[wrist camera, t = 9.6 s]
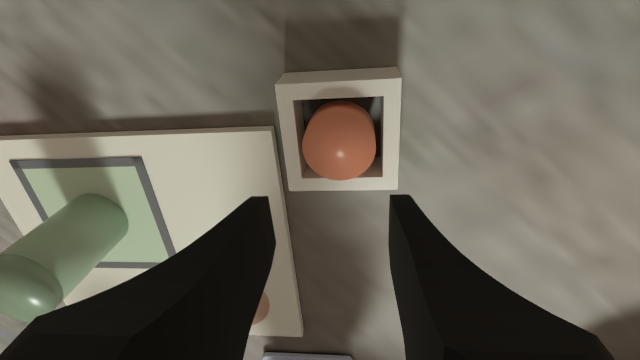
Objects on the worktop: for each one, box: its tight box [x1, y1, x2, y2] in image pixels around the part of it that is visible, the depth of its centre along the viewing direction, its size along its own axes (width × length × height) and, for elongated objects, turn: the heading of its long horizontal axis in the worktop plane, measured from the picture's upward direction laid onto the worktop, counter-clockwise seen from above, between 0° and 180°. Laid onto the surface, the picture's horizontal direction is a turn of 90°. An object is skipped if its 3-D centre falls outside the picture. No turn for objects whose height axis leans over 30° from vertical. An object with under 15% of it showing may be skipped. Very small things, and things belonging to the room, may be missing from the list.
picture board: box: [0, 126, 304, 337], centre depth 26 cm, size 18×20×1 cm
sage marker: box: [0, 193, 128, 322], centre depth 21 cm, size 4×4×7 cm
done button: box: [302, 100, 376, 181], centre depth 18 cm, size 4×4×2 cm
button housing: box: [275, 67, 402, 191], centre depth 19 cm, size 6×6×2 cm
